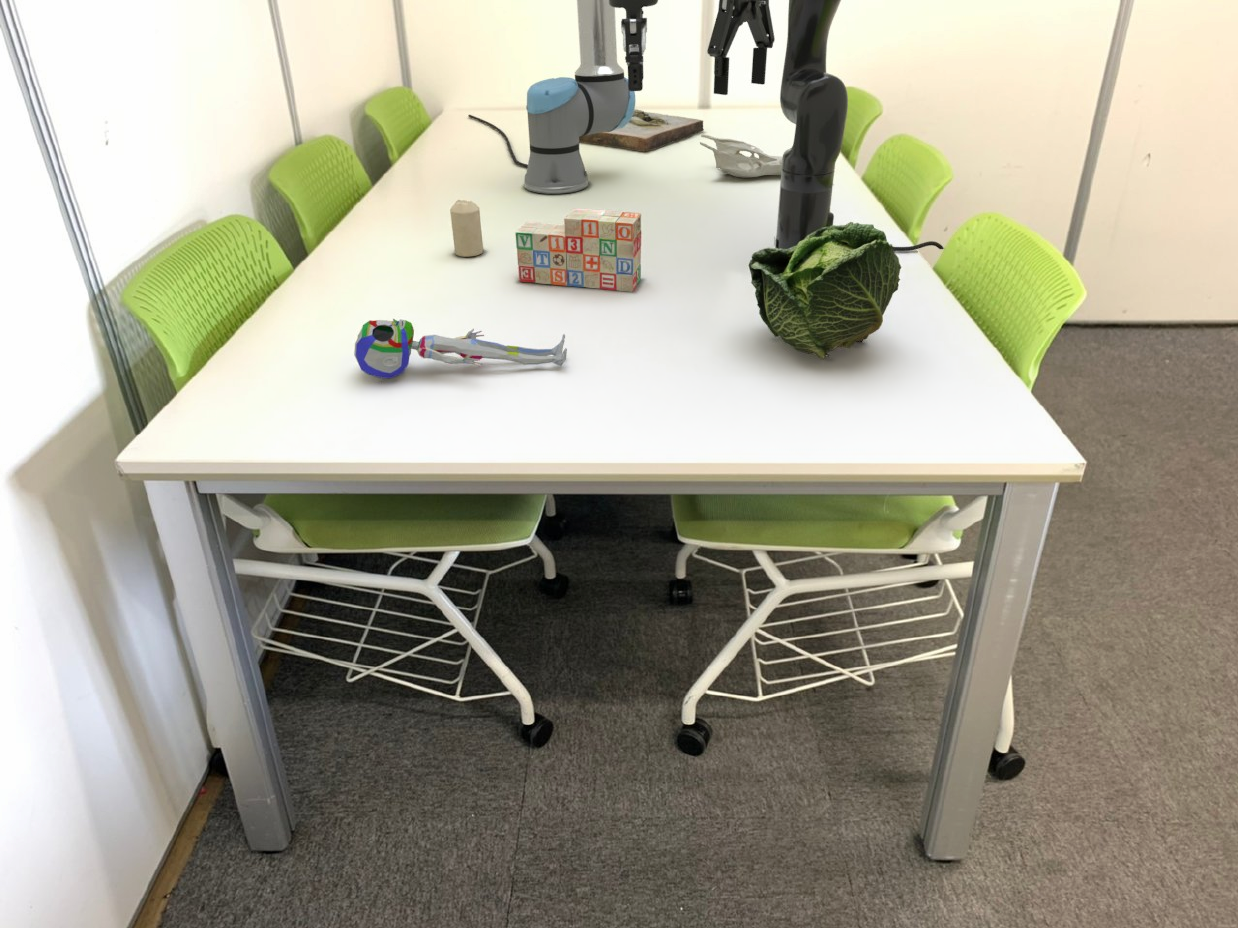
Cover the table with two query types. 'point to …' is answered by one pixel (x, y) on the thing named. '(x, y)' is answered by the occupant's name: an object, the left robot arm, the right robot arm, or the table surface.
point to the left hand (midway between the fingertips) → (739, 89)
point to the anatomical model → (743, 159)
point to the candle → (466, 228)
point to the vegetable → (826, 287)
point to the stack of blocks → (583, 250)
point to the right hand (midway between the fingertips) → (636, 85)
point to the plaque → (647, 132)
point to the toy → (435, 349)
